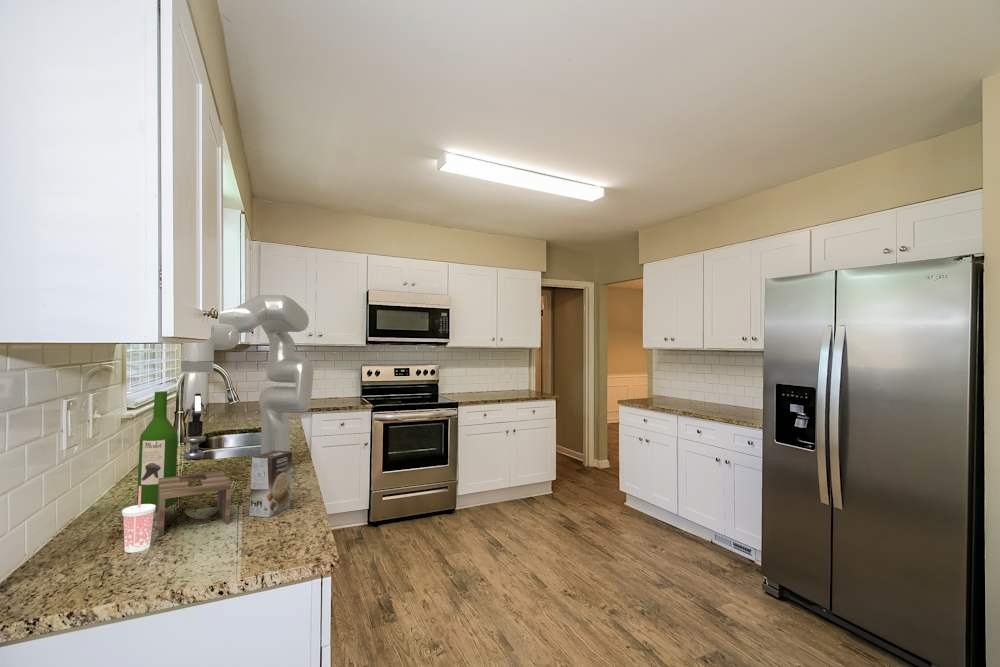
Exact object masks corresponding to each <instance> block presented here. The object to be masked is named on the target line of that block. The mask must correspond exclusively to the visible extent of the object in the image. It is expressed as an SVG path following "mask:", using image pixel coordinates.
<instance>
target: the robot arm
mask: <svg viewBox="0 0 1000 667" xmlns="http://www.w3.org/2000/svg"><path fill="white" fill-rule="evenodd" d="M219 312H220V316H219V324H215V325H211V337H210V338H209V339H208V340H206V341H204V342H206V343H183V344H182V343H181V355H180V356H181V358H180V360H181V361H180V374H184V380H183V398H182V409H183V410H184V411H186V412H187V411H188V414H187V415H190V422H189V424H188V437H198V436H202V429H203V430H204V420H203V421H202V414H203V411H204V410H205V409H206V408H207V400H208V390H209V389H208V387H209V386H208V385H209V374H214V365H215V364H214V358H215V351H216V350H218V351H222V350H223V351H225V350H232V349H233V348H235V347H237V346H238V344H239V343H240V340H241V334H244V333H248V332H251V331H253V330H254V329H256V328H257V327H259V326H261V329H262V331H264V333H265V335H266V337H267V339H268V342H269V343H268V344H269V352H268V360H267V368H266V369H267V370H266V371H267V372H266V374H267V375H266V376H267V379H268V380H269V381H270V382H274V383H281V384H282V383H285V384H287V383H289V384H290V383H291V384H295V386H288V385H287V386H286V385H285V386H283V385H280V386H279V385H276V386H275V385H274V386H267V387H266V388H264V389H262V390H261V392H260V394H259V397H258V401H259V402H258V403H259V407H260V414H261V415H260V417H261V426H260V428H261V432H260V454H264V453H267V452H271V451H289V452H290V444H291V443H290V442H291V423H290V420H289V418H288V416H287V414H303V413H305V412H307V411H308V410H309V409H310V407H311V403H312V395H313V394H312V393H313V384H314V383H313V382H314V375H315V374H314V373H315V372H314V371H315V370H314V365H313V362H312V360H310V359H309V358H307V357H304V356H302V357H301V356H295V348H296V344H295V341H294V339H293V337H292V336H291V334H290V332H291V333H301V332H303V331H305V330H306V329H307V328H308V327H309V326H308V325H309V323H310V322H309V320H310V319H309V315H308V313H307V311H306V310H305V309H304V308H303V307H302V306H301V305H300V304H299V303H298V302H296V301H295V300H294V299H292V298H290V296H287V295H284V294H283V295H282V294H281V295H280V294H260V295H255V296H253V297H252V298H250V299H248V300H246V301H245V302H243V303H241V304H239V305H238V306H236V307H233V308H228V309H226V310H221V311H219ZM293 473H294V468H293V467H292V469H291V475H292V474H293Z"/></svg>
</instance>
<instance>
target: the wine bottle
mask: <svg viewBox="0 0 1000 667" xmlns="http://www.w3.org/2000/svg"><path fill="white" fill-rule="evenodd" d="M153 401H154V402H153V414H152V420H151V421H150V422H149V424H148V425H147V426H146V428H145V429H144V430H143V431H142V432H141V433H140V436H139V448H138V472H137V477H138V478H137V492H136V493H137V495H136V498H137V499H136V505H138V494H139V486H141V504H154V505H156V507H155V510H157V505H158V481H159V478H166V477H174V476H177V466H178V465H177V462H178V438H179V437H178V432H177V429H176V428H175V427H174V425H173V424H172V423H171V422H170V421H169V419H168V416H167V413H168V412H167V411H168V410H167V409H168V392H167V391H155V392H154V400H153ZM175 502H176V497H174V498H167V499H165V508H168V507H171V506H173V505H174V504H175Z"/></svg>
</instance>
